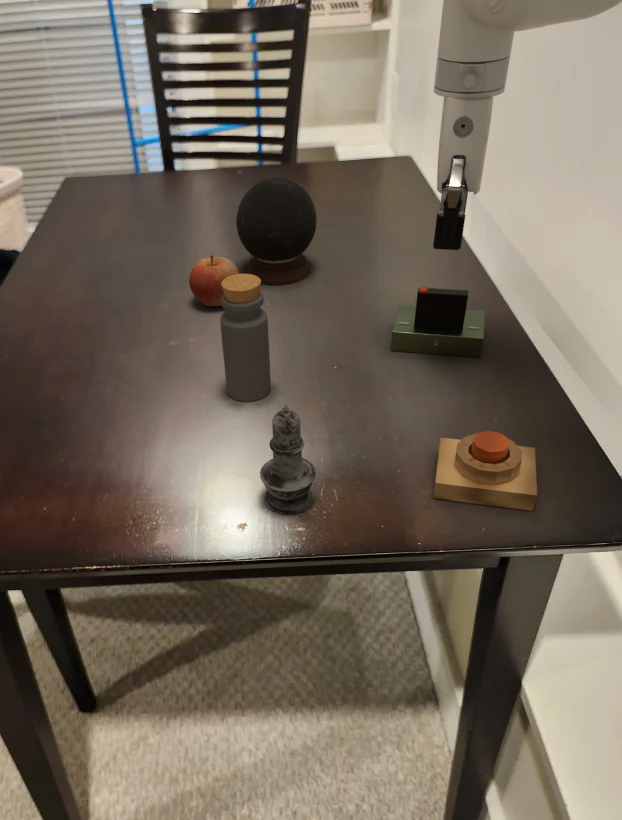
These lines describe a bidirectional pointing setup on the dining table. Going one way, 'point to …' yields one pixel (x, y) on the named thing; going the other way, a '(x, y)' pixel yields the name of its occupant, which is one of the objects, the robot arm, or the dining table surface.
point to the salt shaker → (287, 467)
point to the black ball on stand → (277, 230)
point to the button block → (485, 476)
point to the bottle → (245, 338)
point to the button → (490, 447)
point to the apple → (210, 279)
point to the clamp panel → (438, 335)
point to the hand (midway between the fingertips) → (449, 232)
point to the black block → (440, 308)
